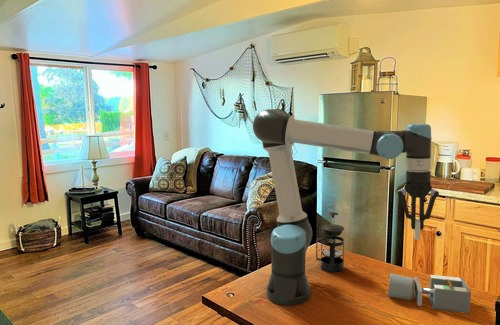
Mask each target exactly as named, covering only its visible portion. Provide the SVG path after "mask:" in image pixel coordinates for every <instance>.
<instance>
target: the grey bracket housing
mask: <svg viewBox="0 0 500 325" xmlns="http://www.w3.org/2000/svg"><path fill="white" fill-rule="evenodd" d="M447 279H449V280H450V282H451V284H452V288H450V287H449V286H446V281H447ZM429 289H434V293H433V295H431V294H427V297H428V300H429V303H430V305H431V309H432V310H437V311H445V312H451V311H452V312H453V313H459V312H464V313H463V314H467V313H471V300H472V299H471V297H472V296H471V295H472V292H471V289H470V288H469V286H468V285H467V283H466V281H465V280H464V278H461V277H457V276H456V277H455V276H447V275H435V274H430V275H429Z"/></svg>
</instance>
